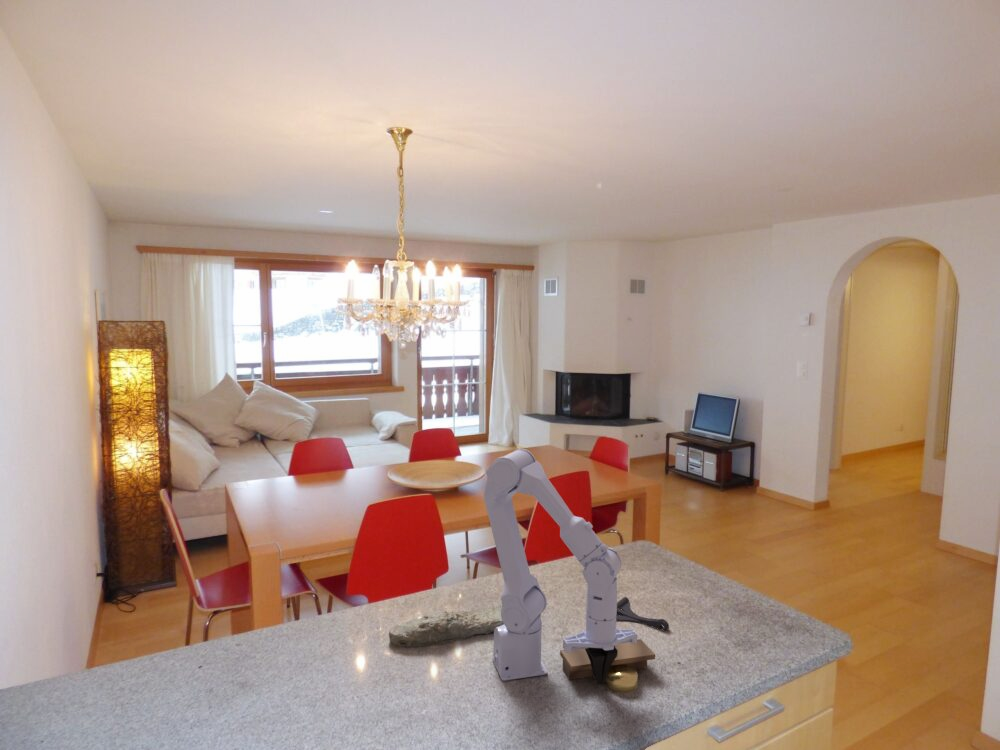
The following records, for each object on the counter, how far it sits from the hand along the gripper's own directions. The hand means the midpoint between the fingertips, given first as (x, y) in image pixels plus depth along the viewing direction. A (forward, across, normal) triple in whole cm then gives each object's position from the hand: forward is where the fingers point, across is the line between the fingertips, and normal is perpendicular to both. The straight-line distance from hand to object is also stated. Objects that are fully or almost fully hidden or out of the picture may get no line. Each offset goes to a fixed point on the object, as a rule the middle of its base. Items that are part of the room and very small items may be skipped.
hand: (599, 681), depth 118 cm
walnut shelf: (+1, +4, +5) cm, 7 cm away
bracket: (+2, +20, +23) cm, 30 cm away
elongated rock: (+2, -20, +28) cm, 34 cm away
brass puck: (+2, +5, 0) cm, 5 cm away
